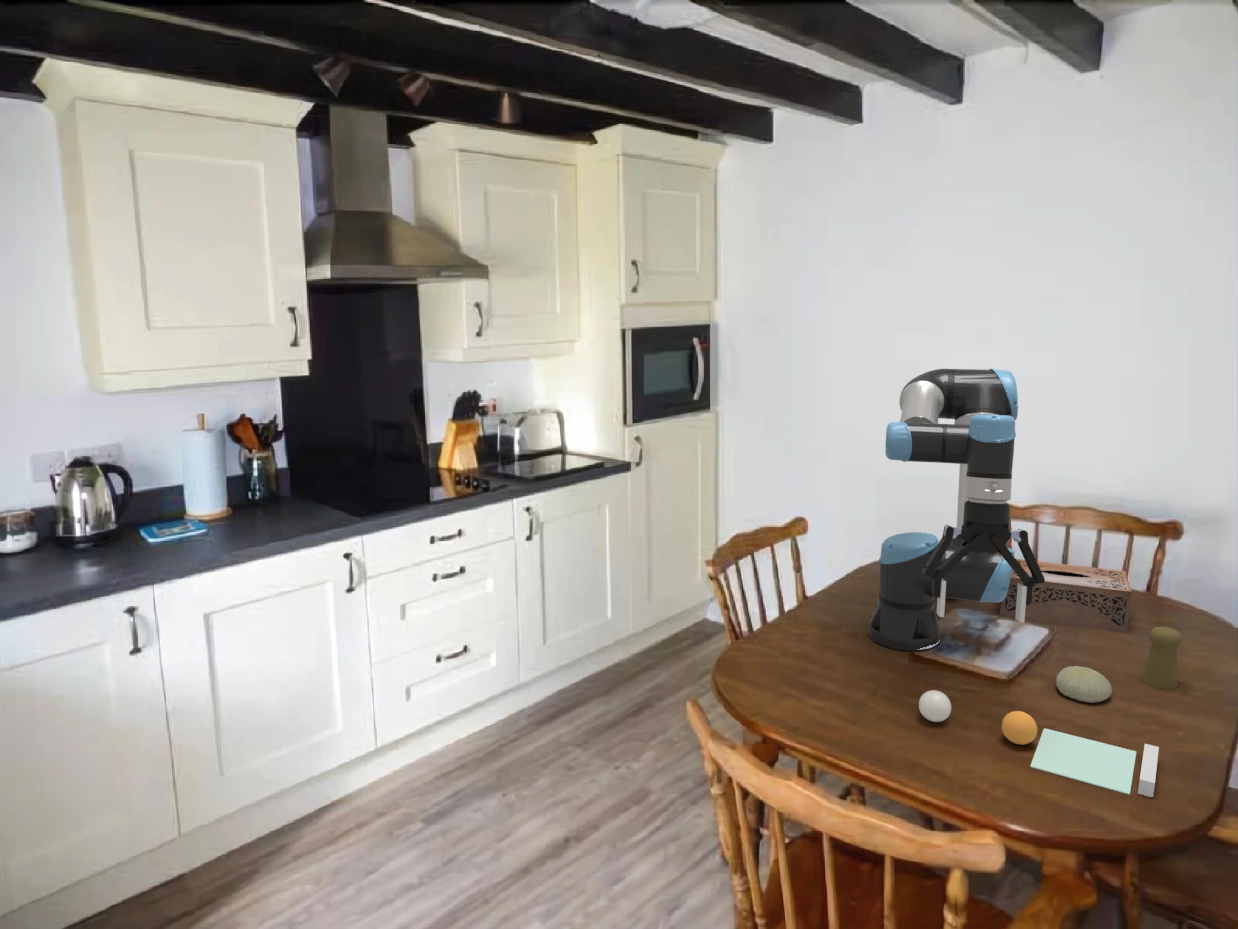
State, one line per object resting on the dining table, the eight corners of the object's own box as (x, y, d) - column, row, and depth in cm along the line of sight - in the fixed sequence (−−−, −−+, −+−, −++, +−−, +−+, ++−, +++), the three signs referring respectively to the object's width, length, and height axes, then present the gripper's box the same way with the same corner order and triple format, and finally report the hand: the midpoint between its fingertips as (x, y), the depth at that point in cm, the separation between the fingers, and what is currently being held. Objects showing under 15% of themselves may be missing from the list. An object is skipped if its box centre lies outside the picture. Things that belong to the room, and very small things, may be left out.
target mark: (1030, 767, 137) (1030, 766, 137) (1043, 729, 148) (1044, 728, 148) (1129, 795, 129) (1129, 793, 129) (1136, 752, 140) (1136, 751, 140)
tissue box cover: (999, 616, 198) (1003, 576, 195) (1001, 595, 210) (1004, 557, 208) (1126, 634, 187) (1131, 591, 184) (1120, 611, 199) (1125, 571, 197)
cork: (1178, 692, 160) (1185, 638, 158) (1141, 684, 163) (1147, 631, 161) (1177, 679, 165) (1184, 626, 163) (1141, 672, 168) (1148, 620, 166)
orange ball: (997, 745, 144) (1000, 715, 142) (1004, 730, 148) (1006, 702, 147) (1032, 754, 141) (1035, 724, 139) (1038, 739, 145) (1041, 710, 144)
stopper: (1137, 793, 129) (1139, 779, 129) (1143, 757, 139) (1144, 743, 139) (1153, 798, 128) (1154, 783, 128) (1157, 760, 138) (1159, 747, 137)
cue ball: (914, 722, 151) (915, 694, 150) (922, 709, 156) (924, 682, 155) (946, 731, 148) (947, 702, 147) (953, 717, 153) (955, 689, 152)
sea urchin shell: (1096, 703, 153) (1070, 662, 157) (1064, 717, 159) (1040, 678, 163) (1126, 691, 157) (1100, 651, 161) (1095, 705, 163) (1070, 667, 167)
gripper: (918, 499, 148) (911, 618, 150) (1069, 507, 144) (1061, 628, 146) (910, 495, 156) (904, 608, 157) (1054, 502, 152) (1046, 618, 153)
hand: (979, 618), depth 151 cm, fingers open, 13 cm apart
